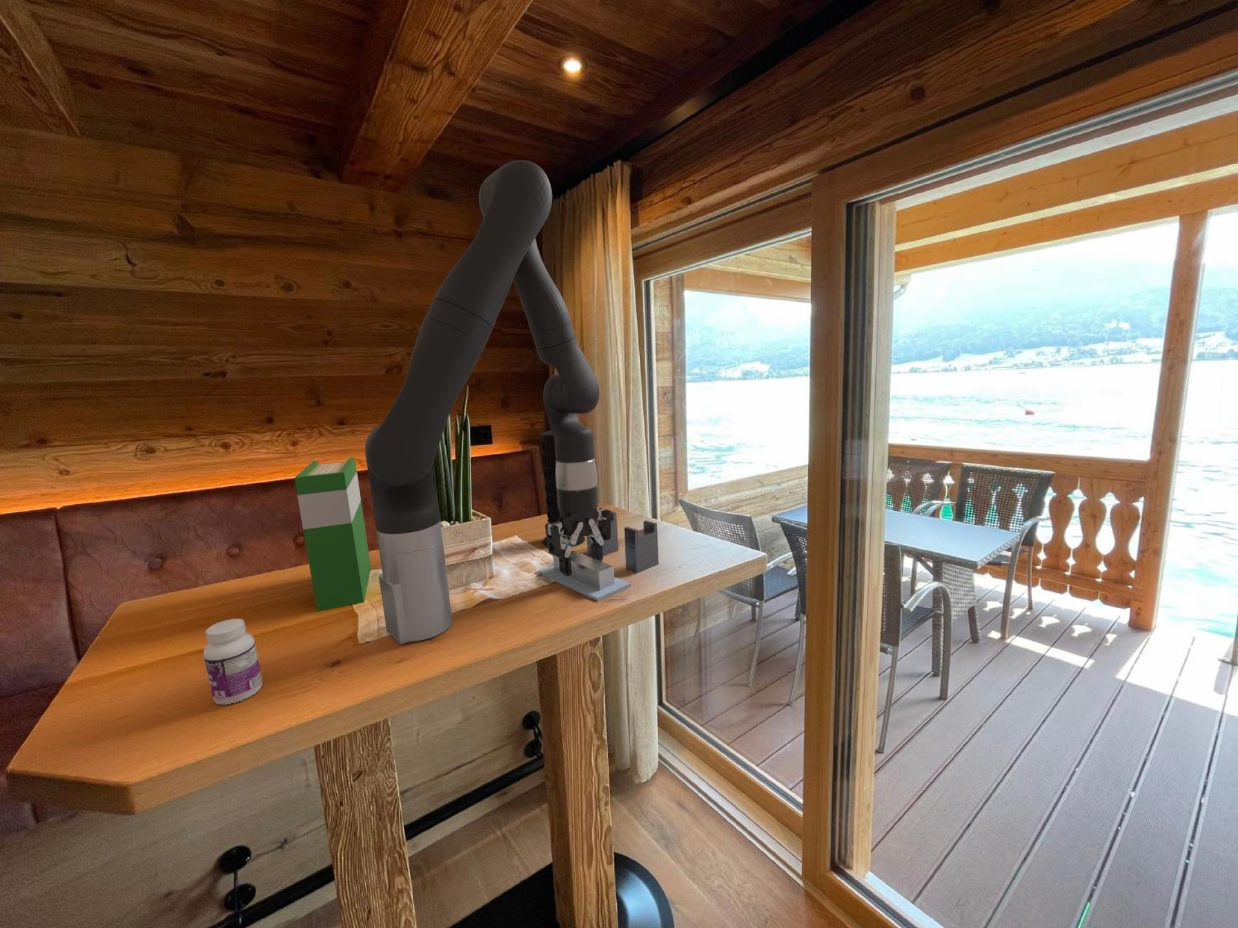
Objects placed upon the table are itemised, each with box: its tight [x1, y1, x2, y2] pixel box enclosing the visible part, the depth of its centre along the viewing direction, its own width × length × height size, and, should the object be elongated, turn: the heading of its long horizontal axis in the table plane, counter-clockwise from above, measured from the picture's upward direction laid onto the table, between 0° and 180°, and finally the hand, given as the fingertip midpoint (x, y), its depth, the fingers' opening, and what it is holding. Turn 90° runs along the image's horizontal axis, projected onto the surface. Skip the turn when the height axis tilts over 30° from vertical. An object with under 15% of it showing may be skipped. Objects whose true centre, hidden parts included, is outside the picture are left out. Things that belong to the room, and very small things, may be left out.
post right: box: [623, 519, 659, 574], centre depth 102 cm, size 6×3×9 cm, turn 133°
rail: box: [552, 549, 615, 590], centre depth 98 cm, size 4×14×4 cm, turn 43°
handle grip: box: [540, 430, 586, 548], centre depth 118 cm, size 10×26×10 cm
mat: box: [538, 565, 632, 602], centre depth 98 cm, size 8×18×1 cm, turn 43°
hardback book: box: [294, 456, 372, 612], centre depth 97 cm, size 18×7×24 cm, turn 22°
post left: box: [586, 510, 619, 557], centre depth 111 cm, size 6×3×9 cm, turn 132°
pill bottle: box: [202, 618, 263, 706], centre depth 67 cm, size 5×5×10 cm
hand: (582, 568), depth 98 cm, fingers open, 6 cm apart
